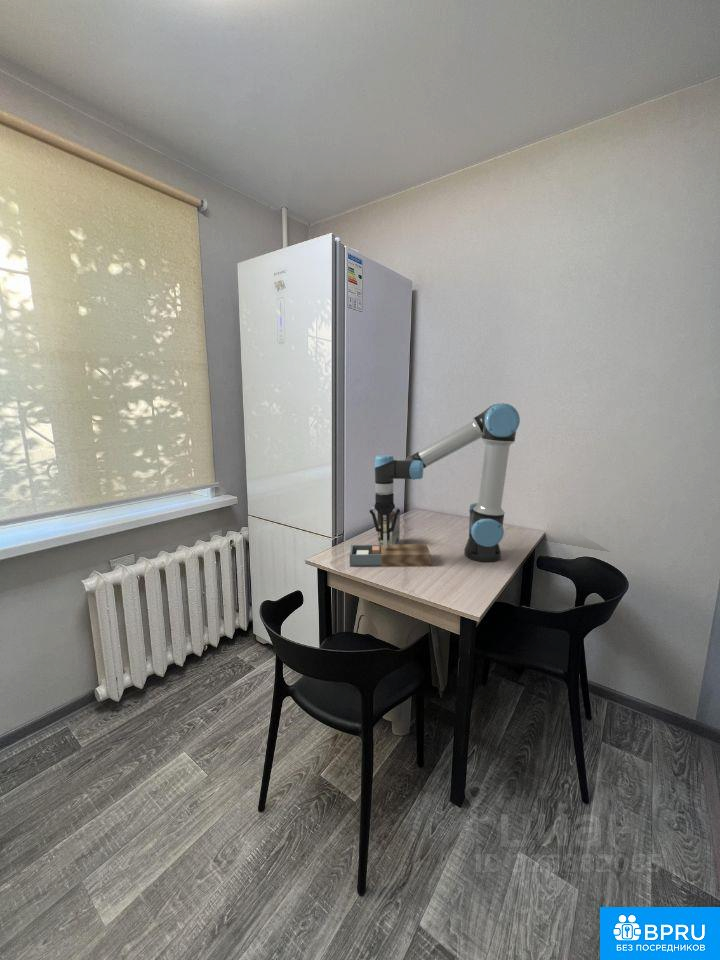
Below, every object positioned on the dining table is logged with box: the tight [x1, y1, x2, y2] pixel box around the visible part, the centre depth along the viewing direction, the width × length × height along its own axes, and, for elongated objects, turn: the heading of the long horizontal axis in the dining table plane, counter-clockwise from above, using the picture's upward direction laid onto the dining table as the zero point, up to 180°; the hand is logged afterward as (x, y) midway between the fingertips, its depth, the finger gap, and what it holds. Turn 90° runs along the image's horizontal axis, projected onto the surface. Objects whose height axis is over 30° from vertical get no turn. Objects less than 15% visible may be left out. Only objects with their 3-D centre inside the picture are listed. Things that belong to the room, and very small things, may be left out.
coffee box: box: [377, 510, 401, 545], centre depth 182 cm, size 9×6×16 cm
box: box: [349, 544, 381, 568], centre depth 164 cm, size 13×12×5 cm
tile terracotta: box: [372, 546, 380, 554], centre depth 163 cm, size 5×5×3 cm
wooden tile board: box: [381, 543, 432, 567], centre depth 163 cm, size 20×12×5 cm, turn 88°
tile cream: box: [356, 550, 369, 555], centre depth 164 cm, size 5×5×3 cm
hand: (385, 547), depth 163 cm, fingers closed
